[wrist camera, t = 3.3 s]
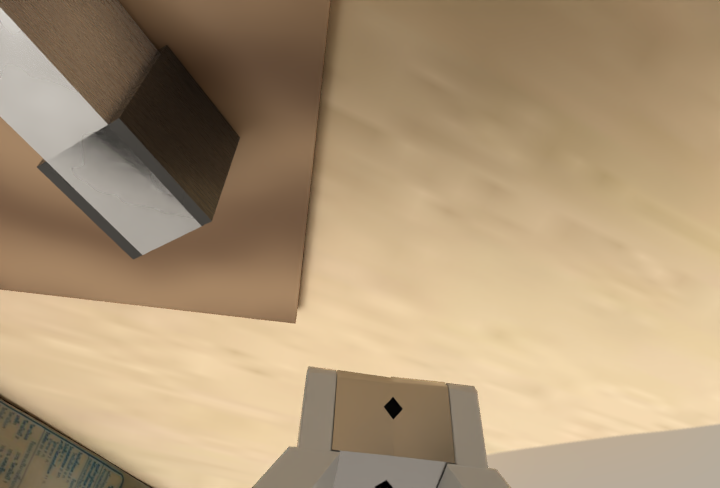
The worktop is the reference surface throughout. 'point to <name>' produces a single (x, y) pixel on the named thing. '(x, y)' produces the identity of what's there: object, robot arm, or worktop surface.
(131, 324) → the worktop surface
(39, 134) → the jaw
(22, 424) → the beverage carton
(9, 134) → the tongs base
